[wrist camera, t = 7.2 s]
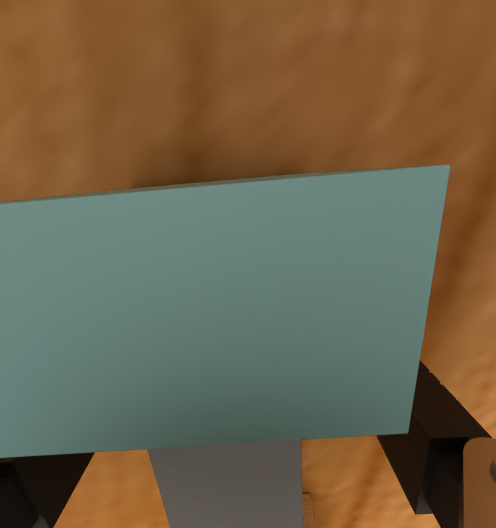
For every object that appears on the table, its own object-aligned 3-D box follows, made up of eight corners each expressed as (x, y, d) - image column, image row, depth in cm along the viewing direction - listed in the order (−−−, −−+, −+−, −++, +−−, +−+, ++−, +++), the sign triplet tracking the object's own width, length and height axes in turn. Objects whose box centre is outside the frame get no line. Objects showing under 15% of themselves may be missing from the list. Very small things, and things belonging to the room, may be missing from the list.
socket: (307, 272, 10) (407, 433, 4) (149, 283, 10) (-11, 457, 4) (306, 172, 9) (450, 164, 2) (128, 188, 9) (-151, 217, 3)
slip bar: (291, 541, 13) (306, 667, 10) (221, 544, 13) (212, 670, 10) (276, 236, 8) (297, 279, 5) (162, 245, 8) (101, 294, 5)
